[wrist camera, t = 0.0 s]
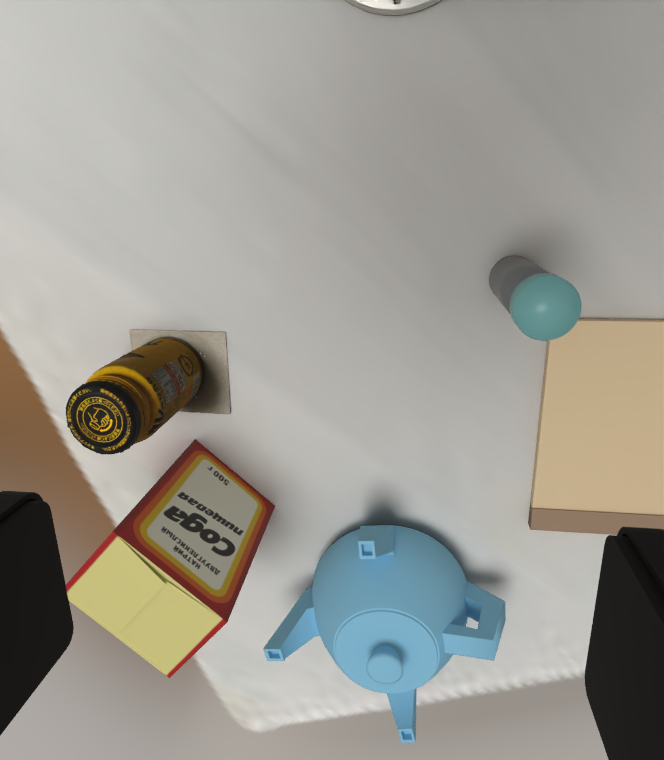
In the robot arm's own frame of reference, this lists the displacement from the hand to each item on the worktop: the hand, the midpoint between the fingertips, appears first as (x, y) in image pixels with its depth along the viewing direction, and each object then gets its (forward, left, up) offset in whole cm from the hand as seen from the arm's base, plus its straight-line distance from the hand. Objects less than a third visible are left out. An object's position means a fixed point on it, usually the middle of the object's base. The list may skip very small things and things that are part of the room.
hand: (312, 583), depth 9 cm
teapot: (+28, 0, -37) cm, 46 cm away
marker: (0, +9, -37) cm, 38 cm away
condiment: (+8, -18, -37) cm, 42 cm away
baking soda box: (+20, -16, -37) cm, 45 cm away
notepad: (+12, +24, -37) cm, 45 cm away
